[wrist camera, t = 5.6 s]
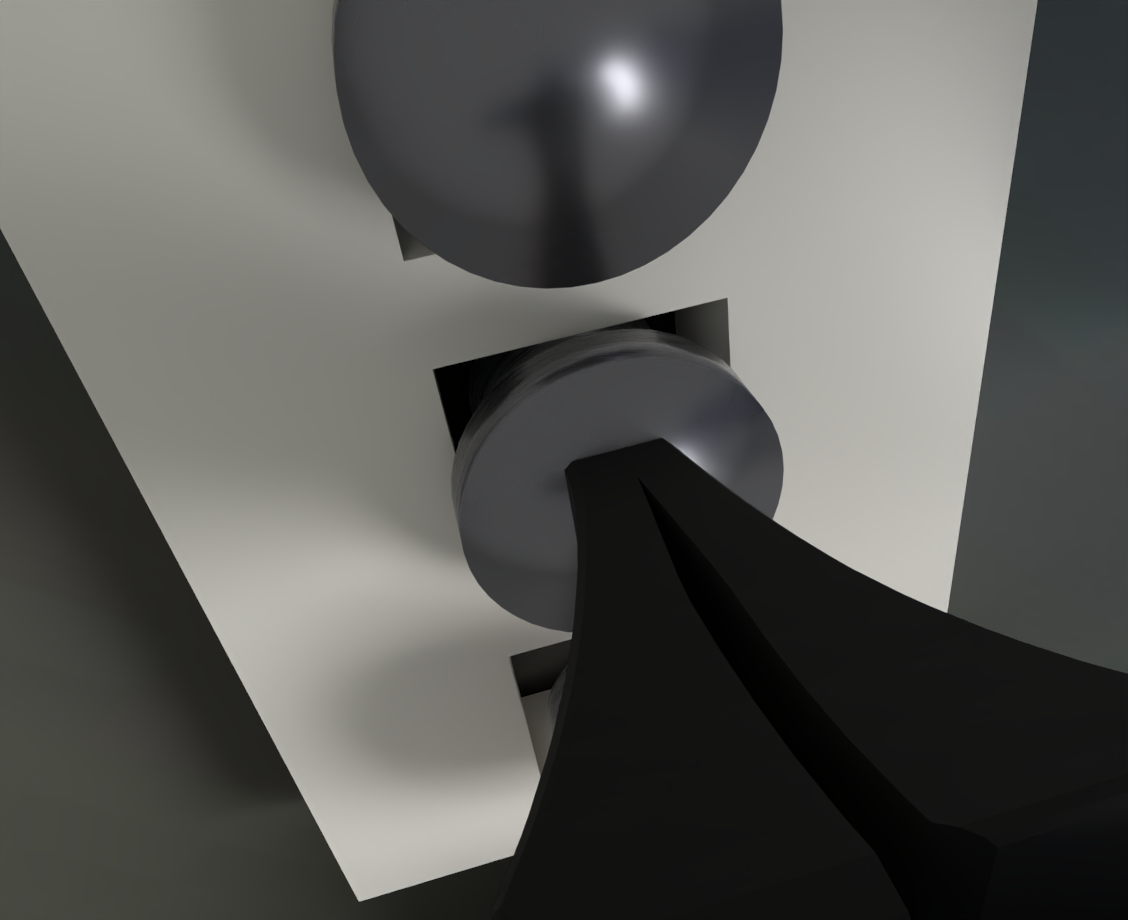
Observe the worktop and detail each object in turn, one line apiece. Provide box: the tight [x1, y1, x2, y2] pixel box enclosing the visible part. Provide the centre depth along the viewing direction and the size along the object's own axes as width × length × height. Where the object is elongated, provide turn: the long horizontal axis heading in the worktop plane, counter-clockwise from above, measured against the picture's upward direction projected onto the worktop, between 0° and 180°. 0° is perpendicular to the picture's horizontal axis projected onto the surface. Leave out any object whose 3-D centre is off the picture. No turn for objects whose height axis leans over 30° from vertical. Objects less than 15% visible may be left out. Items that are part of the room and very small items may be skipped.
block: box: [0, 0, 1038, 902], centre depth 14 cm, size 12×18×2 cm, turn 8°
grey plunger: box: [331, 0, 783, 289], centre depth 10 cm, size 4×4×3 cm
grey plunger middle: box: [451, 318, 784, 632], centre depth 14 cm, size 4×4×3 cm
